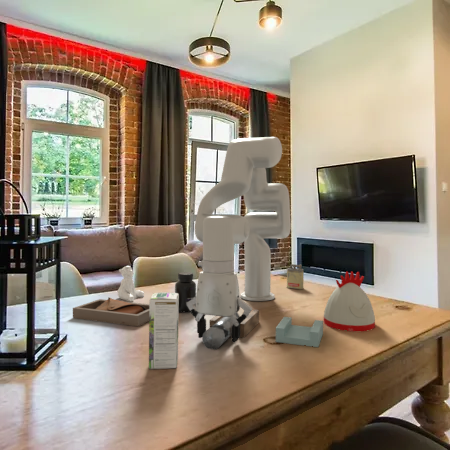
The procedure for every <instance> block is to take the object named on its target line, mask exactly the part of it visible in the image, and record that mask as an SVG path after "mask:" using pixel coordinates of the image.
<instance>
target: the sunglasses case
mask: <svg viewBox="0 0 450 450" xmlns="http://www.w3.org/2000/svg"><path fill="white" fill-rule="evenodd" d="M105 300H106V301H105V302H104V303H102V304H101V305H100V306H99V307H97V308H96V310H105V311H113V312H121V313H130V314H139V313H141V312H143V311H145V310H146V309H145V308H144V307H143V306H141V305H137V304H131V303H127V302H128V301H124V300H119V299H114V298H111V297H108V299H105ZM122 323H124V322H122Z"/></svg>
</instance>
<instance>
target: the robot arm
mask: <svg viewBox="0 0 450 450" xmlns="http://www.w3.org/2000/svg"><path fill="white" fill-rule="evenodd" d="M282 146H283V145H282V142H281V140H280V139H279V138H278V137H276V136H264V137H261V136H260V137H244V138H237V139H233V140H231V141H229V143H228V146H227V149H226V153H225V159H224V164H223V168H222V172H221V177H220V178H221V179H220V181H219V182H218V183H216V184H215V185H214V186H213V187H212V188H210V189H209V190H208V192H206V194H205V195H204V196H203V198H201V200H200V202H199V205H198V210H197V213H196V217H195V222H194V235H195V238H196V239H197V240H198V241H200V243H202V259H201V261H200V260H199V261H198V263H197V266H198V267H200V268H201V269H202V270H201V271H200V272H199V274H198V280H197V283H196V297H195V298H193V299H192V300H190V301H189V302H187V306H188V308H189V310H190V311H191V312H190V314H191V315H192V316H193V317H194V320H195V322H196V332H197V334H198V336H197V337H198V338H199V339H202V336H203V333H204V332H205V331H206V330H207V319H206V318H205V317H206V316H213V317H215V316H223V317H230V319H231V320H232V322H233V326H232V335H231V342H232V343H236V342H237V341H238V340H239V339H240V338H241V337H240V323H241V322H243V321H244V320H245V319H246V318H247V316H248V315H249V314H250V313H251V312H252V311H253V307H252V306H250V305H249V304H248V303H247V302H245V301H244V300H246V301H250V302H268V301H272V300H274V299H275V297H276V296H275V295H276V294H274V293H273V292H271V277H272V275H271V274H272V273H271V267H272V266H271V265H272V263H271V258H272V257H271V256H272V254H271V248H270V246H269V244H268V243H267V242H266V240H265V239H285V238H288V237H289V235H290V234H291V233H290V232H291V229H292V227H291V226H292V225H291V203H290V202H291V201H290V193H289V189H288V187H287V185H285V184H284V183H279V182H276V183H275V182H273V183H271V182H270V183H268V179H267V170H266V169H267V168H269V169H270V168H273V167H275V166H276V165H277V164H278V163H280V160H281V159H282V155H283V154H282V153H283V147H282ZM239 197H243V201H244V205H245V208H246V209H247V210H251V212H249V213H246V214H245V215H244V216H243V215H239V214H213V213H214V212H215V211H216V210H217V209H218V208H219V207H220V206H223V205H225V204H226V203H228V202H231V201H234V200H235V199H238V198H239ZM252 211H254V212H252ZM274 211H275V212H274ZM243 243H244V291H243V292H241V293H240V285H239V280H238V279H239V278H238V275H237V272H235V245H238V244H239V245H241V244H243ZM195 303H196V307H195ZM241 309H242V310H243V312H242V314H241V315H240V314H239V312H240V310H241Z"/></svg>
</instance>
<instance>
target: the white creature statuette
mask: <svg viewBox="0 0 450 450" xmlns="http://www.w3.org/2000/svg"><path fill="white" fill-rule="evenodd" d="M118 271H119V272H118V273H120V274H121V276H122V279H121V281H120V286H119V288H118V289H117V296H118V298H119V299H120V300H122V301H125V302H132V303H133V302H134V301H135V299H137V298H144V297H145V291H142V290H140V289H136V287H135V282H134V279H133V276H134V273H135V272H134V271H133V268H132V267H131V265H126V266H124V267H122V268H120V269H118Z"/></svg>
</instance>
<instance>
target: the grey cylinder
mask: <svg viewBox="0 0 450 450" xmlns="http://www.w3.org/2000/svg"><path fill="white" fill-rule="evenodd" d="M232 326H233V322H232V320H231V319H230V317H223V318H222V319H221V320H219V321H218V322H217V323H215V324H214V325H213V326H211V327H210V326H209V327H208V329H206V331H205V332H204V333H203V336H202V338H201V339H202V344H203V345H204V346H205V348H207V349H209V350H217V349H219V348H220V347H221V346H222V345H224V343H225V342H227V340H228V339H229V338H230V337H232Z"/></svg>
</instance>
